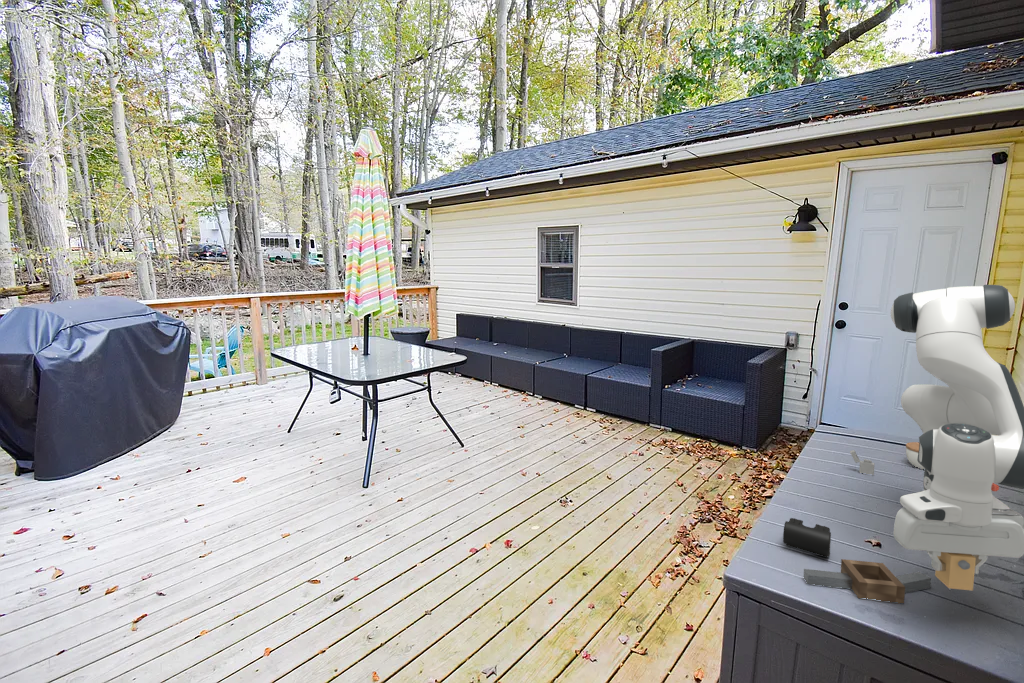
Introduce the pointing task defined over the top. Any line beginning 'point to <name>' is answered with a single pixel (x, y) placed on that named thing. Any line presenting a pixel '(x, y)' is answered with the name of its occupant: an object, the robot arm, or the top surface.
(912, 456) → the lidded jar
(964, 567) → the block
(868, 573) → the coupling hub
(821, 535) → the end cap
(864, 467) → the lighter
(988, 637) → the top surface
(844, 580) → the steel shafts
